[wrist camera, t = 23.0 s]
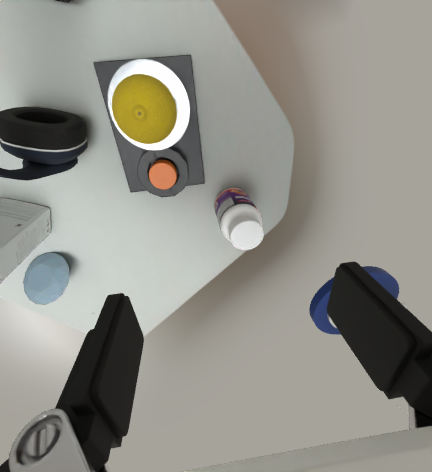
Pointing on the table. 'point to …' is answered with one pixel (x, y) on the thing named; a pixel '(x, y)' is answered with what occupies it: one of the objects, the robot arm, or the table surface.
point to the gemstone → (46, 278)
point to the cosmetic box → (20, 232)
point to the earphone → (41, 140)
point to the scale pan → (171, 83)
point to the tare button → (163, 174)
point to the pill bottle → (239, 219)
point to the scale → (180, 154)
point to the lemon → (144, 109)
